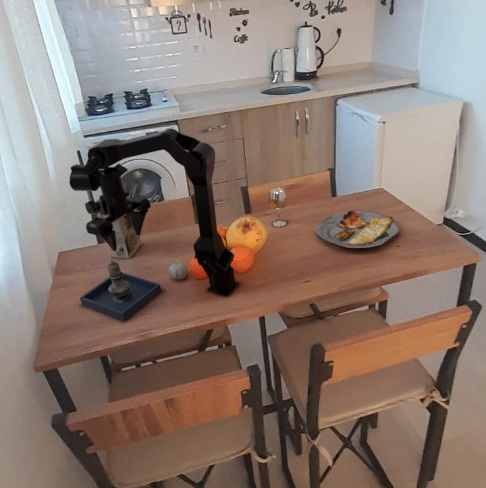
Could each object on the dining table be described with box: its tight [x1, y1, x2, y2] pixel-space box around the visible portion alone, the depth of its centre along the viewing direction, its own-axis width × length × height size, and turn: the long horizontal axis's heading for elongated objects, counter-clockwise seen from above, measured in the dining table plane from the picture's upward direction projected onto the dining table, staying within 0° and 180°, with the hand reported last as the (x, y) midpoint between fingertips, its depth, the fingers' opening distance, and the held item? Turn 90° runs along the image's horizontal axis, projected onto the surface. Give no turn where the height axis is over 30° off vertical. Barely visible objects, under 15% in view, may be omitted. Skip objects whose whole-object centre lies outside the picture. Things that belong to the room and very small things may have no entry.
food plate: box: [314, 209, 400, 249], centre depth 145 cm, size 25×23×4 cm
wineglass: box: [268, 187, 288, 228], centre depth 154 cm, size 6×6×12 cm
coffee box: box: [99, 212, 143, 259], centre depth 148 cm, size 9×6×16 cm
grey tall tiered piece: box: [107, 259, 132, 303], centre depth 126 cm, size 6×6×12 cm
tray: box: [79, 272, 163, 322], centre depth 128 cm, size 16×14×2 cm
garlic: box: [168, 260, 189, 280], centre depth 134 cm, size 6×5×5 cm
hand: (126, 242), depth 129 cm, fingers open, 9 cm apart
